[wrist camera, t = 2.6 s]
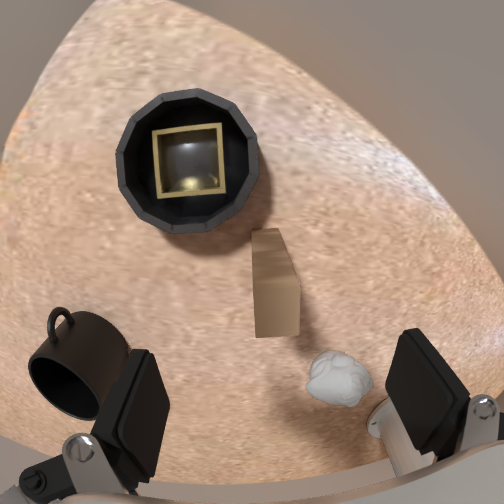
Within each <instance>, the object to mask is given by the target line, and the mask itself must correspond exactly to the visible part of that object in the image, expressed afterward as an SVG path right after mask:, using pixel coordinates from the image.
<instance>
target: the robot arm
mask: <svg viewBox="0 0 504 504" xmlns="http://www.w3.org/2000/svg"><path fill="white" fill-rule="evenodd" d="M385 388H386V391H387V393H388V395H389V397H388V398H387V399H385V400H384V401H383V402H382V403H381V404H380V405H378V406H377V407H376V409H375V410H374V411H373V412H372V414H371V415H370V416H369V419H368V421H367V429H368V432H369V434H370V435H371V436H372V437H375V438H380V439H382V440H383V443H384V445H385V448H386V451H387V453H388V456H389V458H390V461H391V464H392V466H393V469H394V471H395V474H396V478H393V479H390V480H387V481H384V482H381V483H378V484H374V485H371V486H366V487H363V488H358V489H355V490H350V491H346V492H341V493H337V494H331V495H326V496H320V497H314V498H307V499H300V500H292V501H282V502H269V503H251V504H504V413H501V412H500V409H499V405H498V403H497V402H496V400H495V399H494V398H492V397H491V396H488V395H485V394H480V395H476V396H474V397H473V398H472V399H471V398H470V397H469V395H470V393H469V392H468V390H467V389H466V388H465V386H464V385H463V383H462V382H461V381H460V379H459V378H458V377H457V375H456V374H455V373H454V372H453V370H452V369H451V368H450V366H449V365H448V364H447V363H446V361H445V360H444V359H443V357H442V356H441V355H440V354H439V352H438V351H437V350H436V349H435V347H434V346H433V345H432V344H431V343H430V341H429V340H428V339H427V338H426V336H425V335H424V334H423V333H422V332H421V330H420V329H418V328H413V329H408V330H404V331H403V333H402V334H401V335H400V336H399V339H398V343H397V347H396V350H395V354H394V357H393V360H392V364H391V367H390V370H389V373H388V376H387V379H386V383H385ZM169 409H170V402H169V398H168V395H167V393H166V390H165V387H164V384H163V381H162V378H161V375H160V372H159V369H158V366H157V363H156V360H155V357H154V354H152V353H150V352H149V351H148V350H147V349H132V351H131V353H130V355H129V357H128V359H127V361H126V363H125V365H124V367H123V369H122V372H121V374H120V376H119V378H118V380H117V381H115V382H114V383H113V384H112V386H111V388H110V390H109V392H108V394H107V397H106V399H105V401H104V403H103V405H102V408H101V410H100V412H99V414H98V417H97V419H96V421H95V423H94V426H93V428H92V430H91V433H90V434H87V433H77V434H74V435H72V436H70V437H69V438H68V439H67V440H66V441H65V442H64V444H63V447H62V454H61V455H58V456H56V457H54V458H51V459H49V460H46V461H44V462H41V463H39V464H36V465H34V466H31V467H29V468H27V469H25V470H24V471H23V472H22V473H21V475H20V477H19V486H16V485H13V486H12V487H10V488H9V489H8V490H7V491H5V492H4V493H3V494H1V495H0V504H217V503H197V502H185V501H174V500H166V499H158V498H151V497H144V496H141V495H140V494H139V492H138V491H137V489H136V488H137V487H138V483H139V482H143V483H149V479H150V477H154V475H155V471H156V466H157V462H158V457H159V452H160V448H161V443H162V439H163V434H164V430H165V426H166V421H167V417H168V413H169Z"/></svg>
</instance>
